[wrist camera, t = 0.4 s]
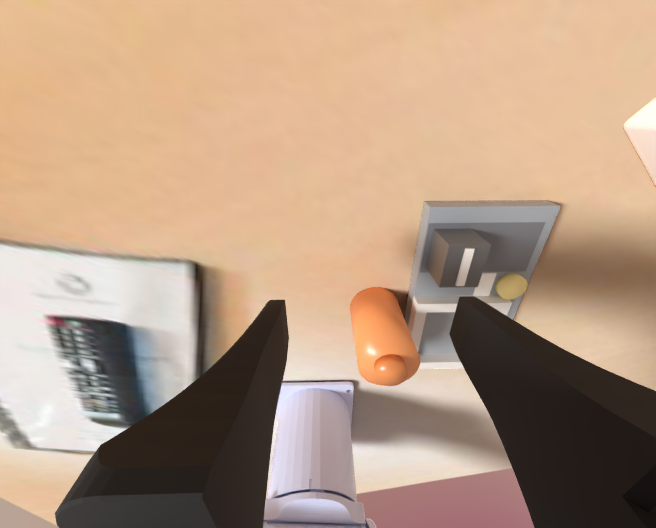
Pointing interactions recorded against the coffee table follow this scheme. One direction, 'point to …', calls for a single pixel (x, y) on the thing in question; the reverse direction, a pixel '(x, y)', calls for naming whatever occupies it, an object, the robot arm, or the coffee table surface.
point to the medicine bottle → (644, 136)
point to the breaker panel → (498, 274)
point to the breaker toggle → (457, 257)
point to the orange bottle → (382, 338)
